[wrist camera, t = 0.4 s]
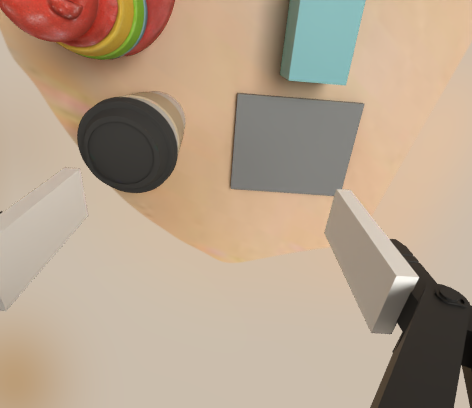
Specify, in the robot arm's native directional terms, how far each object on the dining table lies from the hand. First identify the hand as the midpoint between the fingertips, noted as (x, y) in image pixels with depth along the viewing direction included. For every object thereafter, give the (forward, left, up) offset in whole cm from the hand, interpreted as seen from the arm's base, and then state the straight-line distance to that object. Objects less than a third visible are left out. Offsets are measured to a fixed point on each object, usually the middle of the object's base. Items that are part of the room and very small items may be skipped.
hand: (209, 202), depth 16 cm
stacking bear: (-10, -12, -26) cm, 31 cm away
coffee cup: (+2, -8, -26) cm, 28 cm away
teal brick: (-9, +10, -26) cm, 29 cm away
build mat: (+4, +10, -26) cm, 28 cm away
